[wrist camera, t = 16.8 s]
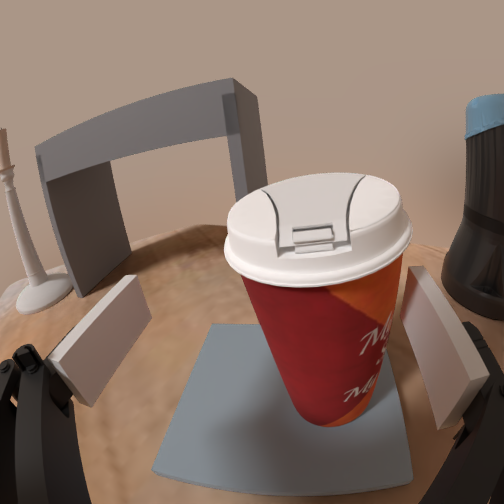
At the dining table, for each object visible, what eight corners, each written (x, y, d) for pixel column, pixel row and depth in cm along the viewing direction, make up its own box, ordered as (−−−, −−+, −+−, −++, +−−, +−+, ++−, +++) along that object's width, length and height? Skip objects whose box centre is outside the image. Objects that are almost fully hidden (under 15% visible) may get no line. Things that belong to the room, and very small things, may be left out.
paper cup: (389, 436, 13) (447, 231, 6) (269, 440, 15) (181, 259, 8) (380, 346, 19) (384, 162, 13) (285, 353, 21) (241, 181, 15)
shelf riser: (274, 245, 45) (257, 96, 36) (261, 302, 31) (232, 77, 21) (127, 253, 51) (100, 134, 41) (78, 297, 36) (34, 146, 27)
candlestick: (26, 288, 41) (-13, 143, 29) (77, 270, 46) (41, 118, 34) (10, 321, 30) (-44, 142, 18) (69, 301, 35) (20, 107, 23)
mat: (376, 327, 24) (377, 319, 24) (408, 483, 10) (413, 479, 9) (214, 331, 27) (212, 323, 27) (156, 474, 13) (151, 469, 13)
